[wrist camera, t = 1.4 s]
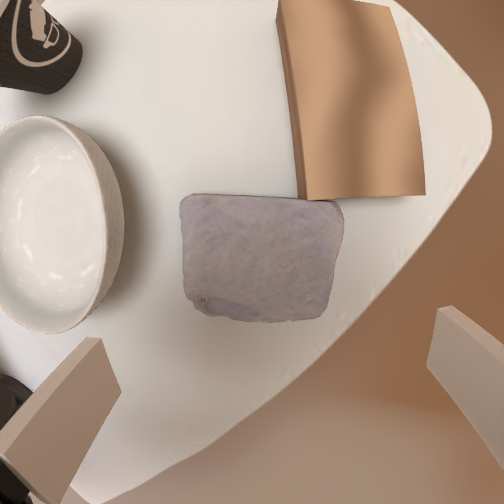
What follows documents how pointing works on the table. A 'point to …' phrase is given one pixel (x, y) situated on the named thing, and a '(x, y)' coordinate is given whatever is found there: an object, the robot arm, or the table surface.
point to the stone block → (259, 255)
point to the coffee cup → (35, 48)
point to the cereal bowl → (56, 224)
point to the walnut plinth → (349, 101)
